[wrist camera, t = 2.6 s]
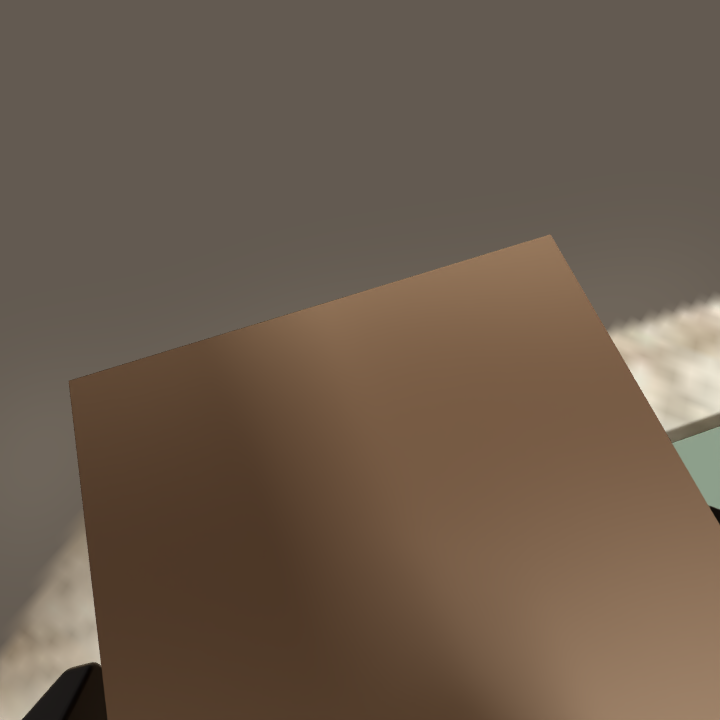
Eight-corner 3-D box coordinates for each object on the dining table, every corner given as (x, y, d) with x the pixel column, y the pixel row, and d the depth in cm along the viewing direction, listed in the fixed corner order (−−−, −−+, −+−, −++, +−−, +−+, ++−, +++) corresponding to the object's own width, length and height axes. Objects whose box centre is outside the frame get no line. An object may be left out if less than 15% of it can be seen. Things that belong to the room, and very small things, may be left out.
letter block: (503, 650, 15) (907, 845, 4) (333, 715, 14) (160, 1185, 3) (435, 475, 17) (550, 234, 6) (284, 526, 17) (68, 381, 5)
